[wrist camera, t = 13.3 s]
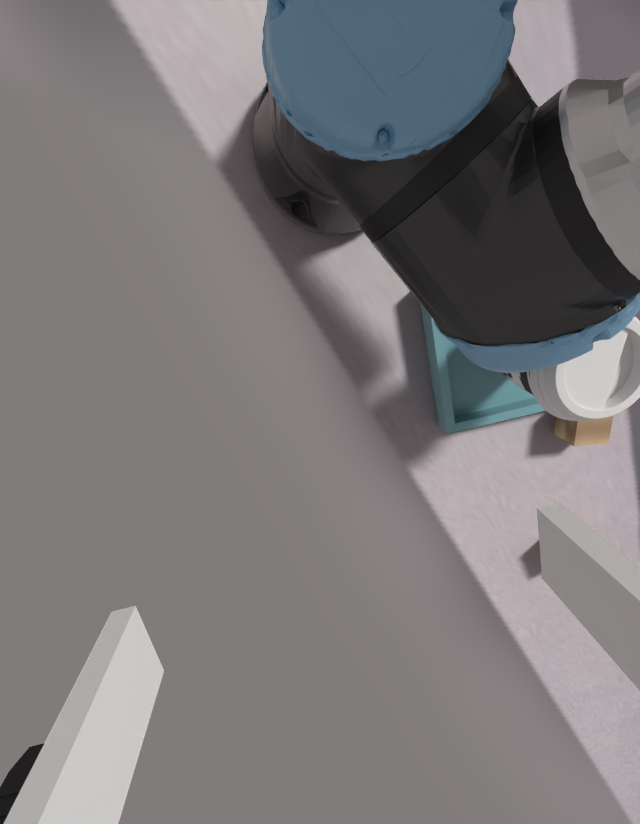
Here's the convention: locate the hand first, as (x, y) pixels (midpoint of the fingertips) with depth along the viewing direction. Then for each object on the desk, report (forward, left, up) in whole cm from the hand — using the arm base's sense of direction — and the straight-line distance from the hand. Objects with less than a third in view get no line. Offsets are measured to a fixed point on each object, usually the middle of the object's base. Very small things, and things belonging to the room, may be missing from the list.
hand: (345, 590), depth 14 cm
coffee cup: (+2, +23, -34) cm, 41 cm away
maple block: (+13, +30, -35) cm, 48 cm away
